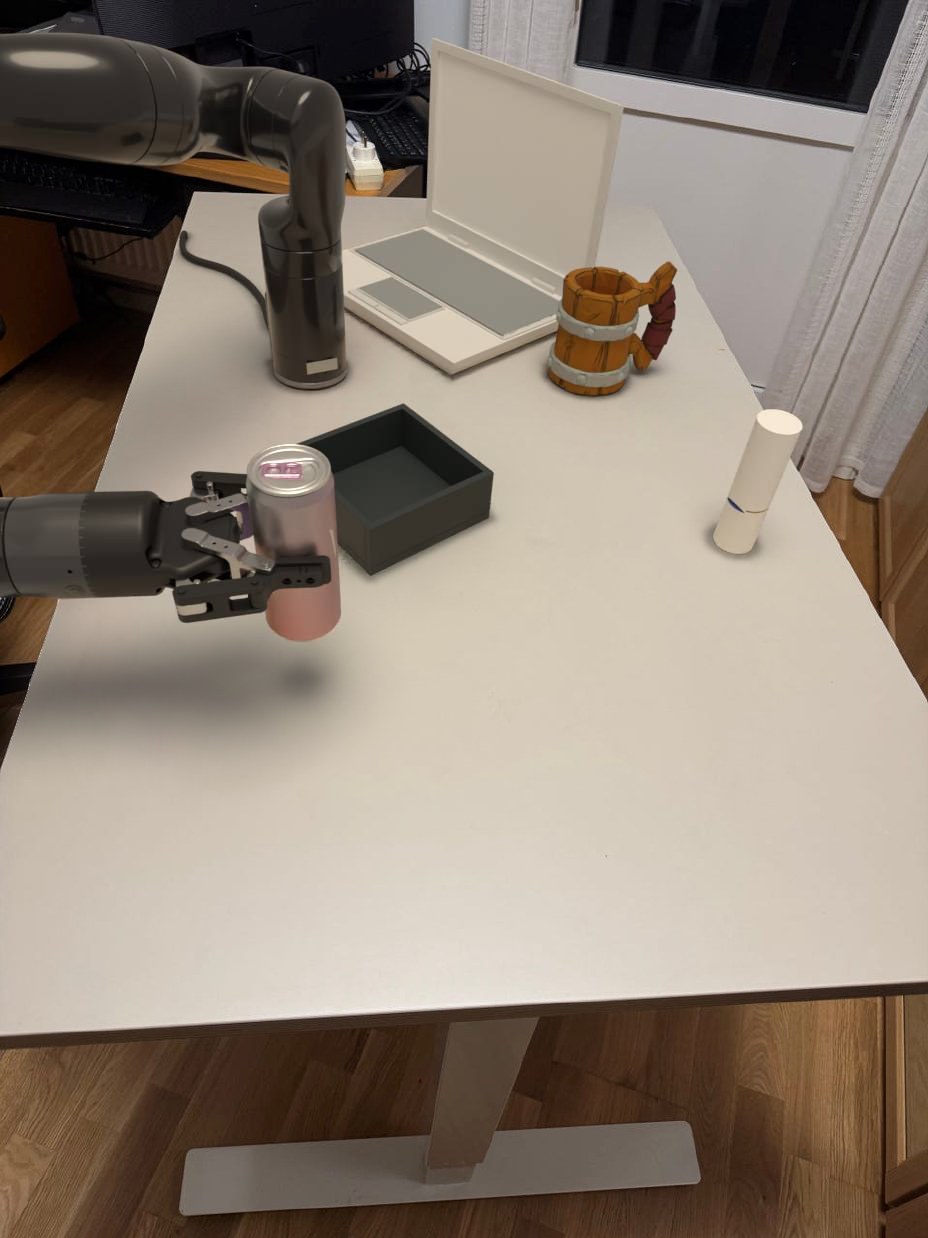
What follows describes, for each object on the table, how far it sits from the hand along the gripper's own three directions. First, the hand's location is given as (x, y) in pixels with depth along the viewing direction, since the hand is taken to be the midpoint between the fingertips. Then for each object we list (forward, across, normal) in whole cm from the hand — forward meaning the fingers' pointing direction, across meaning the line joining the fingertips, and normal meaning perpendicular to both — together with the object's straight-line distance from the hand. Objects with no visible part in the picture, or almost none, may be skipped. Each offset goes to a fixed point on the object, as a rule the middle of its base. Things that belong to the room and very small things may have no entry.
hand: (329, 538), depth 62 cm
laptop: (+16, +71, +18) cm, 75 cm away
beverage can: (-2, 0, +9) cm, 9 cm away
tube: (+43, +16, +17) cm, 49 cm away
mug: (+36, +50, +17) cm, 64 cm away
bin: (+6, +24, +17) cm, 30 cm away
